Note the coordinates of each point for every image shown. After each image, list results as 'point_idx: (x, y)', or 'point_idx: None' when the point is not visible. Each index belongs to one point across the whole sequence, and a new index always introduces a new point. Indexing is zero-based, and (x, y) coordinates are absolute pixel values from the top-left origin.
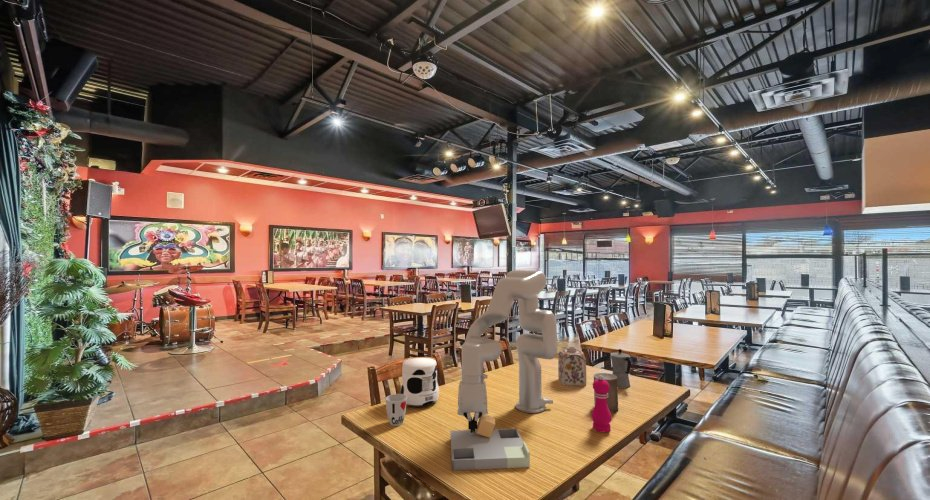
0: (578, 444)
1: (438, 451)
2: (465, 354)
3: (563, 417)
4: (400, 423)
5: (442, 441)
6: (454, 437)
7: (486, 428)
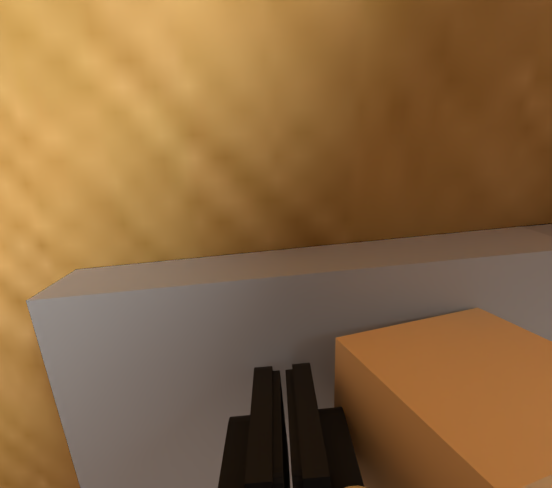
0: None
1: (25, 453)
2: None
3: None
4: None
5: (12, 308)
6: (101, 439)
7: None
